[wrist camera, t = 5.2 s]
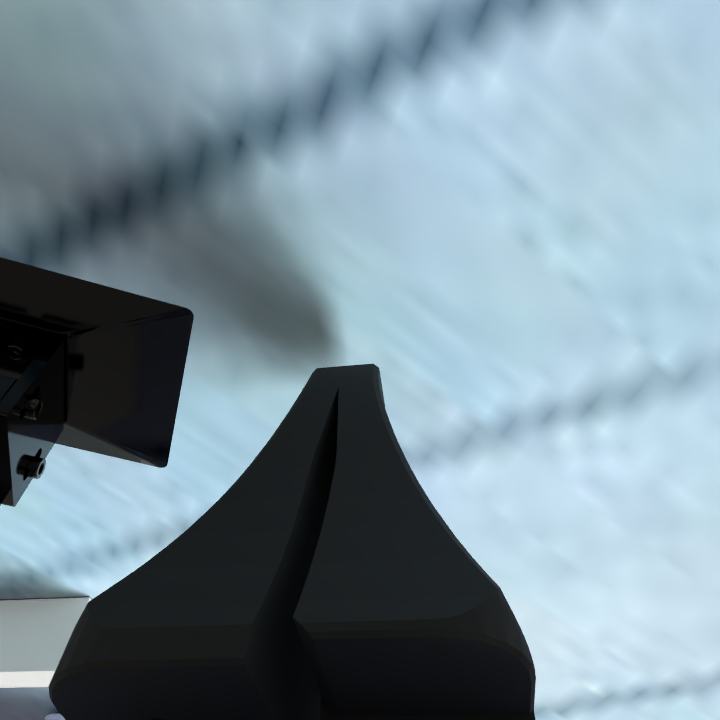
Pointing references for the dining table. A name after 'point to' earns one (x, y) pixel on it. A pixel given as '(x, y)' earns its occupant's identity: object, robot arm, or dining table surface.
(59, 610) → the walled lane
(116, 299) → the black boxy piece
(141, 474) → the dining table surface
